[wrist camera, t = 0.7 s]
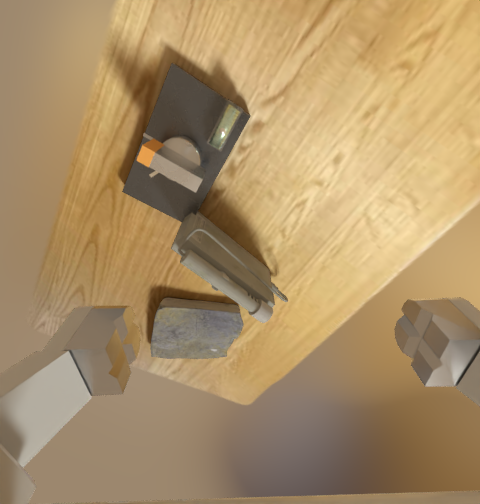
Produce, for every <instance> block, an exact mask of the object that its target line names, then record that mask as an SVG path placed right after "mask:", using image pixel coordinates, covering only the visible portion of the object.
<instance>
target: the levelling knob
mask: <svg viewBox="0 0 480 504" xmlns="http://www.w3.org/2000/svg"><path fill="white" fill-rule="evenodd" d="M136 161H138V162H140V163H142V164H143V165H145V166H147V167H150V168H152V169H154V170H155V171H157V172H159V173H161V174H163V175H164V176H166V177H167V178H168V179H170V180H172V181H175V182H177V183H179V184H181V185H183V186H185V187H186V188H188V189H190V190H192V191H194V192H195V193H196V192H197V190H198V188H199V186H200V184H201V182H202V180H203V178H204V175H205V172H206V169H204V168H203V167H201V166H200V165H201V161H202V155H201V151H200V149H199V147H198V145H197V144H196V143H195V142H194V141H193V140H192V139H191V138H189V137H186V136H182V135H177V136H173V137H171V138H169V139H168V140H167V141H165V142H164V143H163V144H162V143H161V142H159V141H157V140H155V139H154V138H153V139H152V140H150V141H148V142H147V143H145V144H143V145H142V147H141V150H140V152H139V155H138V157H137V160H136Z"/></svg>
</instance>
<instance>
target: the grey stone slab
mask: <svg viewBox="0 0 480 504" xmlns="http://www.w3.org/2000/svg"><path fill="white" fill-rule="evenodd" d="M242 327H243V321H242V318H241V314H240V309H239V306H238V305H235V304H227V303H218V302H210V301H198V300H186V299H177V298H164V299H163V300H162V301H161V303H160V305H159V307H158V310H157V312H156V315H155V320H154V326H153V332H152V339H151V354H152V355H151V356H152V357H160V358H168V359H175V358H189V359H208V358H219V357H226V356H227V350H228V348H229V347H230V346H231V344H232V342H233V340H234V338H235V339H237V338H238V336H239V335H240V333H241V331H242Z"/></svg>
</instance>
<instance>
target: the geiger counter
mask: <svg viewBox="0 0 480 504" xmlns="http://www.w3.org/2000/svg"><path fill="white" fill-rule="evenodd" d="M171 249H172V250H174V251H175V252H177V253H178V254H179V255H181V256H182V258H181V260H180V263H181V264H183V265H184V266H186V267H187V268H189V269H190V270H191V271H193V272H194V273H196V274H197V275H198V276H200V277H201V278H203V279H204V280H206V281H207V282H208V283H210V284H211V285H212V288H213V289H214V290H216V291H218V290H220V291H221V292H222V293H224V294H225V295H227V296H228V297H230V298H231V299H232V300H234V301H235V302H237V303H238V304H239V305H241V306H242V307H244V308H245V309H247V310H248V311H249V314H250V315H251V316H253V317H254V318H256V319H257V320H259V321H260V322H262V323H265V322H267V321H268V320H269V319H270V318H271V316H272V314H273V309H272V307H273V306H274V305H275V302H274V296H273V293H274V294H275V295H277V296H278V297H279V298H280V299H282V300H283V301H285V302H288V299H287V297H286V296H285V295H284V294H282V293H281V292H280V291H279V290H278V288H277V287H276V286H275V284H273V283H272V282H271V277H270V271H269V269H268V268H267V267H266V266H265V265H263V264H262V263H261V262H260V261H259V260H257V259H256V258H255V257H254V256H252V255H251V254H250V253H249V252H248V251H246V250H245V249H244V248H243V247H241V246H240V245H239V244H238V243H237V242H235V241H234V240H233V239H232V238H230V237H229V236H228V235H227V234H225V233H224V232H223V231H222V230H221V229H219V228H218V227H217V226H216V225H214V224H213V223H212V222H211V221H210V220H208V219H207V218H206V217H205V216H203V215H202V214H201V213H200V212H199V211H198V212H197V213H196V215H195V214H193V213H190V214H189V215H188V216H186V217H185V218H184V220H183V222H182V224H181V226H180V228H179V231H178V233H177V235H176V238H175V240H174V242H173V245H172V247H171ZM277 292H278V293H279V294H280V295H281V296H280V295H279V294H278V293H277ZM283 297H284V298H285V299H284V298H283Z"/></svg>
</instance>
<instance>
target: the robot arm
mask: <svg viewBox="0 0 480 504" xmlns="http://www.w3.org/2000/svg"><path fill="white" fill-rule="evenodd" d="M402 312H403V313H404V316H403V317H402V318H400V319H399V320H398V321H397V323H396V326H395V338H396V341H397V344H398V346H399V347H400V349H401V351H402V352H403V353H405V354H406V355H407V356H409V357H411V358H412V362H411V366H412V367H413V369H414V370H415V372H416V373H417V375H418V376H419V378H420V380H421V381H422V383H423V384H424V385H425V386H457V387H456V388H457V389H458V390H460V391H461V392H462V393H463V394H465V395H466V396H467V397H468V398H470V399H471V400H472V401H473V402H475V403H476V404H477V405H479V406H480V311H479V310H478V309H477V308H475V307H474V306H473V305H472V304H471V303H470V302H469V301H467V300H465V299H463V298H460V297H459V298H442V299H409V300H407V301H406V302H405V303H404V305H403V307H402ZM134 318H135V313H134V310H133V307H131V306H78V307H76V308H74V309H73V310H72V312H71V313H70V314H69V316H68V317H67V318H66V320H65V321H64V322H63V324H62V325H61V326H60V328H59V329H58V330H57V332H56V333H55V334H54V336H53V337H52V338H51V340H50V341H49V342H48V343H47V345H46V346H45V347H44V349H43V350H42V351H36V352H34V353H33V354H31V355H29V356H28V357H26V358H24V359H23V360H21V361H20V362H18V363H16V364H15V365H13V366H11V367H10V368H8V369H7V370H5V371H3V372H2V373H0V504H28V503H29V501H30V499H31V496H32V494H33V492H34V490H35V488H36V484H35V480H34V479H33V478H32V477H31V476H30V475H29V474H28V473H27V472H26V470H25V469H24V468H23V467H24V466H25V465H26V464H27V463H28V462H29V461H30V460H31V459H32V458H33V457H34V456H35V455H36V454H37V453H38V452H39V451H40V450H41V449H42V448H43V447H44V446H45V445H46V444H47V443H48V442H49V441H50V440H51V439H52V438H53V437H54V436H55V435H56V433H57V432H58V431H59V430H60V429H61V428H62V427H63V426H64V425H65V424H66V423H67V422H68V421H69V420H70V419H71V418H72V417H73V416H74V415H75V414H76V413H77V412H78V411H79V410H80V409H81V408H82V407H83V406H84V405H85V404H86V403H87V402H88V401H89V400H90V399H91V396H98V395H114V394H115V395H116V394H123V393H124V390H125V388H126V385H127V382H128V380H129V377H130V374H131V370H130V367H129V365H130V364H131V363H132V362H133V361H134V360H135V359H136V358H137V355H138V352H139V349H140V341H141V338H140V330H139V327H138V326H137V325H136V324H134V323H133V320H134ZM53 504H480V491H454V492H421V493H388V494H387V493H386V494H353V495H319V496H287V497H255V498H254V497H253V498H219V499H189V500H187V499H186V500H152V501H119V502H88V503H87V502H86V503H53Z"/></svg>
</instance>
